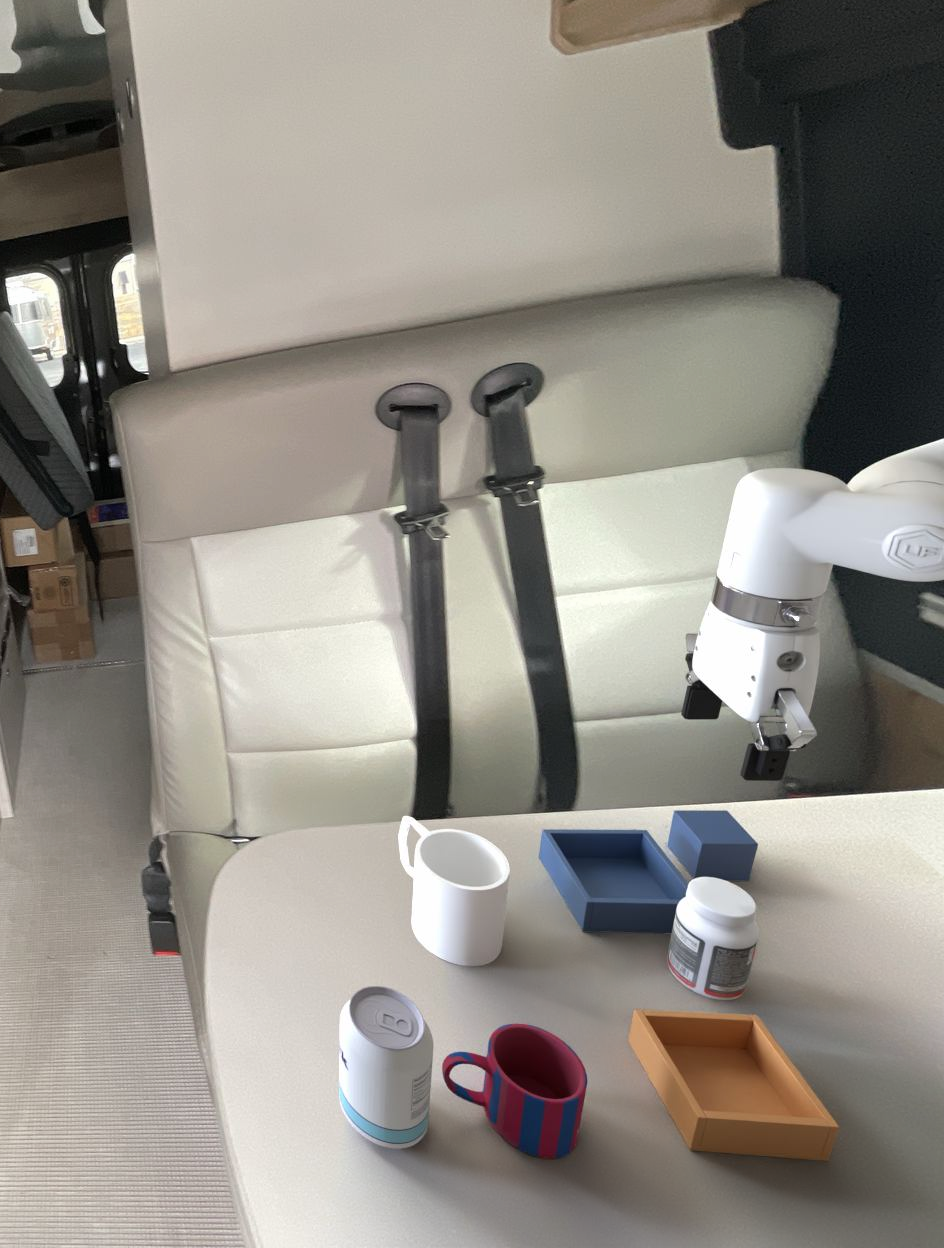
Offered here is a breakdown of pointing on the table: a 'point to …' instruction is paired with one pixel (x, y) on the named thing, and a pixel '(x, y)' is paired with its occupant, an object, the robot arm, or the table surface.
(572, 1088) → the cup
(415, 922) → the cup
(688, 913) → the pill bottle
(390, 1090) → the beverage can
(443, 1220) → the table surface
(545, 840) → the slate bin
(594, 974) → the table surface
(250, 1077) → the table surface
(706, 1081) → the tan bin
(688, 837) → the block
